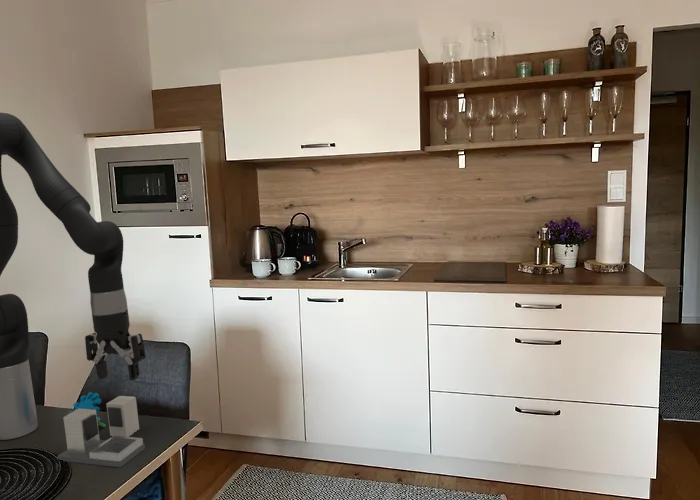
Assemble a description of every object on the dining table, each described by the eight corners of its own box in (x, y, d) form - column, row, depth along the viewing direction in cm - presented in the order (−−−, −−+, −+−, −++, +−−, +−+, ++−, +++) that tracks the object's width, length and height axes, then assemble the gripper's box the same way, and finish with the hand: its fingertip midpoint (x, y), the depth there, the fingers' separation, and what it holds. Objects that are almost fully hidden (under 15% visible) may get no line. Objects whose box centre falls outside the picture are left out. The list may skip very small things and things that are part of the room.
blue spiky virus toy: (58, 420, 135) (86, 384, 139) (77, 429, 139) (104, 394, 143) (75, 439, 128) (105, 401, 131) (95, 448, 132) (123, 411, 135)
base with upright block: (57, 460, 119) (52, 420, 117) (85, 442, 126) (80, 404, 125) (120, 467, 114) (115, 425, 113) (145, 448, 122) (140, 409, 120)
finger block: (108, 437, 128) (104, 404, 127) (123, 427, 133) (119, 395, 132) (125, 439, 127) (121, 405, 126) (139, 429, 132) (135, 396, 131)
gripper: (71, 313, 125) (81, 383, 127) (125, 313, 120) (134, 385, 122) (95, 305, 132) (104, 371, 134) (146, 305, 128) (155, 373, 130)
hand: (118, 378), depth 128 cm, fingers open, 8 cm apart
